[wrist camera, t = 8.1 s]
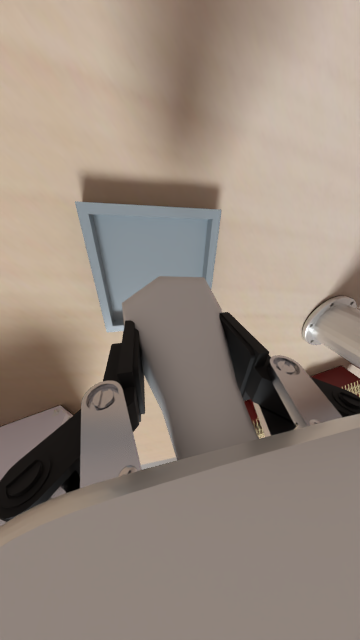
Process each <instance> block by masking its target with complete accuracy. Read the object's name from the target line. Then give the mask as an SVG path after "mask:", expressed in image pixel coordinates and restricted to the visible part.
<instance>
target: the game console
mask: <svg viewBox="0 0 360 640" xmlns="http://www.w3.org/2000/svg"><path fill="white" fill-rule="evenodd" d="M72 416H73V415H72V414H71V413H70V412H68V411H67V410H66V409H64V408H63V407H62V406H61V405H60V406H57V407H54V408H51V409H49V410H46V411H43V412H40V413H37V414H35V415H32V416H29V417H26V418H24V419H21V420H18V421H15V422H13V423H10V424H7V425H4V426H2V427H0V480H1V479H2V478H3V476H4V475H5V474H6V473H7V471H8V470H9V469H10V468H11V467H12V466H13V465H14V464H15V463H16V462H18V461H19V460H20V459H21V458H22V457H24V456H25V455H26V454H27V453H28V452H30V451H31V450H32V449H33V448H35V447H36V446H37V445H38V444H39V443H41V442H42V441H43V440H44V439H45V438H47V437H48V436H49V435H50V434H52V433H53V432H54V431H55V430H56V429H58V428H59V427H60V426H61V425H62V424H64V423H65V422H66V421H67V420H69V419H70V418H71V417H72Z"/></svg>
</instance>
